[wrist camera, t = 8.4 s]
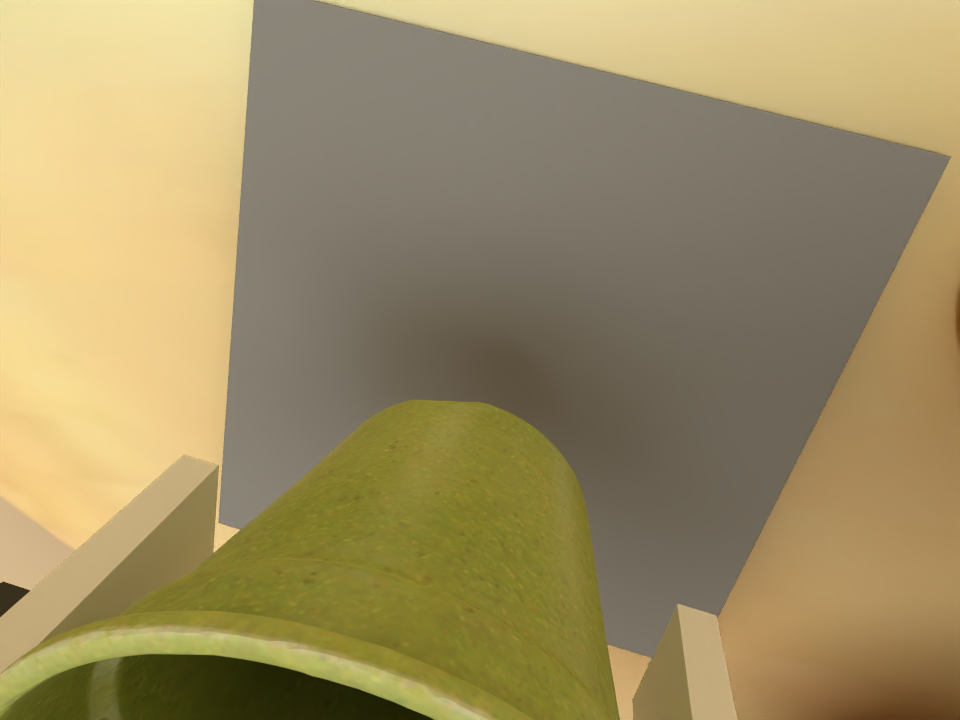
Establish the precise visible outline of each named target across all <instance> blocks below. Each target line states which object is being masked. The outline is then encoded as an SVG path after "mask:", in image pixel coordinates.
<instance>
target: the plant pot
mask: <svg viewBox="0 0 960 720" xmlns="http://www.w3.org/2000/svg"><path fill="white" fill-rule="evenodd" d="M0 720H620V718H619V713H618V707H617V702H616V695H615V688H614V682H613V677H612V671H611V665H610V659H609V654H608V648H607V642H606V635H605V628H604V622H603V615H602V608H601V601H600V594H599V587H598V580H597V573H596V566H595V559H594V552H593V544H592V537H591V531H590V525H589V519H588V513H587V508H586V503H585V499H584V496H583V492H582V489H581V487H580V484H579V482H578V480H577V477H576V475H575V473H574V471H573V470H572V468H571V467H570V465H569V464H568V462H567V461H566V459H565V458H564V457H563V455H562V454H561V453H560V451H559V450H558V449H557V448H556V447H555V446H554V445H553V444H552V443H551V442H550V441H549V440H548V439H547V438H546V437H545V436H544V435H543V434H542V433H541V432H539V431H538V430H537V429H536V428H534V427H533V426H531V425H530V424H528V423H527V422H526V421H524V420H522V419H521V418H519V417H517V416H515V415H513V414H512V413H510V412H508V411H505V410H503V409H500V408H498V407H495V406H493V405H490V404H486V403H482V402H458V401H433V400H417V399H414V400H409V401H405V402H402V403H398V404H395V405H393V406H390V407H388V408H386V409H384V410H383V411H381V412H379V413H377V414H375V415H373V416H372V417H370V418H369V419H367V420H366V421H365V422H364V423H362V424H361V425H360V426H359V427H358V428H357V429H356V430H355V431H354V432H352V433H351V434H350V435H349V436H348V437H347V438H345V439H344V440H343V441H342V442H341V443H340V444H339V445H338V446H337V447H335V448H334V449H333V450H332V451H331V452H330V453H329V454H328V455H327V456H325V457H324V458H323V459H322V460H321V461H320V462H319V463H318V464H317V465H316V466H315V467H313V468H312V469H311V470H310V471H309V472H308V473H307V474H305V475H304V476H303V477H302V478H301V479H300V480H299V481H297V482H296V483H295V484H294V485H293V486H292V487H290V488H289V489H288V490H287V491H286V492H285V493H283V494H282V495H281V496H280V497H279V498H278V499H276V500H275V501H274V502H273V503H272V504H271V505H269V506H268V507H267V508H266V509H265V510H264V511H262V512H261V513H260V514H259V515H258V516H256V517H255V518H254V519H253V520H252V521H251V522H249V523H248V524H247V525H246V526H245V527H244V528H242V529H241V530H240V531H239V532H238V533H236V534H235V535H234V536H233V537H232V538H231V539H229V540H228V541H227V542H226V543H225V544H224V545H222V546H221V547H220V548H219V549H218V550H217V551H216V552H214V553H213V554H212V555H211V556H210V557H209V558H208V559H206V560H205V561H204V562H203V563H202V564H201V565H200V566H198V567H197V568H196V569H195V570H194V571H193V572H191V573H190V574H189V575H186V576H184V577H182V578H179V579H177V580H175V581H172V582H170V583H168V584H165V585H163V586H161V587H159V588H157V589H156V590H154V591H152V592H151V593H149V594H147V595H146V596H144V597H143V598H141V599H140V600H138V601H137V602H136V603H134V604H133V605H131V606H130V607H129V608H127V609H126V610H125V611H123V612H122V613H121V614H120V615H118V616H116V617H111V618H107V619H103V620H98V621H95V622H92V623H89V624H86V625H83V626H80V627H77V628H74V629H71V630H69V631H66V632H64V633H61V634H59V635H57V636H55V637H53V638H51V639H49V640H47V641H45V642H43V643H41V644H39V645H37V646H36V647H34V648H33V649H31V650H30V651H28V652H27V653H25V654H24V655H23V656H21V657H20V658H19V659H17V660H16V661H15V662H13V663H12V664H11V665H9V666H8V667H7V668H6V669H5V670H4V671H3V672H2V673H1V674H0Z"/></svg>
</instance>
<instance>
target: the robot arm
mask: <svg viewBox="0 0 960 720" xmlns="http://www.w3.org/2000/svg"><path fill="white" fill-rule="evenodd" d="M218 469H219V465H216V464H213V463H210V462H206V461H203V460H200V459H197V458H193V457H190V456H187V455H183V456H182V457H181V458H179V459H178V460H177V461H176V462H175V463H174V464H173V465H172V466H170V467H169V468H168V469H167V470H166V471H165V472H164V473H163V474H161V475H160V476H159V477H158V478H157V479H156V480H155V481H153V482H152V483H151V484H150V485H149V486H148V487H147V488H146V489H144V490H143V491H142V492H141V493H140V494H139V495H138V496H137V497H135V498H134V499H133V500H132V501H131V502H130V503H129V504H128V505H126V506H125V507H124V508H123V509H122V510H121V511H120V512H119V513H117V514H116V515H115V516H114V517H113V518H112V519H111V520H110V521H108V522H107V523H106V524H105V525H104V526H103V527H102V528H101V529H99V530H98V531H97V532H96V533H95V534H94V535H93V536H92V537H90V538H89V539H88V540H87V541H86V542H85V543H84V544H82V545H81V546H80V547H79V548H78V549H77V550H76V551H75V552H73V553H72V554H71V555H70V556H69V557H68V558H67V559H66V560H64V561H63V562H62V563H61V564H60V565H59V566H58V567H57V568H56V569H55V570H53V571H52V572H51V573H50V574H49V575H48V576H46V577H45V578H44V579H43V580H42V581H41V582H40V583H39V584H37V585H36V586H35V587H34V588H33V589H32V590H31V591H30V590H27V589H24V588H21V587H18V586H15V585H12V584H8V583H5V582H2V583H0V674H1V673H2V672H3V671H4V670H5V669H6V668H7V667H8V666H9V665H11V664H12V663H13V662H15V661H16V660H17V659H19V658H20V657H21V656H23V655H24V654H25V653H27V652H28V651H30V650H31V649H33V648H34V647H36V646H37V645H39V644H41V643H43V642H45V641H47V640H49V639H51V638H53V637H55V636H57V635H59V634H61V633H64V632H66V631H69V630H71V629H74V628H77V627H80V626H83V625H86V624H89V623H92V622H95V621H98V620H103V619H107V618H111V617H116V616H118V615H120V614H121V613H122V612H123V611H125V610H126V609H127V608H129V607H130V606H131V605H133V604H134V603H136V602H137V601H138V600H140V599H141V598H143V597H144V596H146V595H147V594H149V593H151V592H152V591H154V590H156V589H157V588H159V587H161V586H163V585H165V584H168V583H170V582H172V581H175V580H177V579H179V578H182V577H184V576H186V575H189V574H190V573H191V572H193V571H194V570H195V569H196V568H197V567H198V566H200V565H201V564H202V563H203V562H204V561H205V560H206V559H208V558H209V557H210V556H211V555H212V554H213V547H214V531H215V516H216V500H217V485H218ZM633 720H737V715H736V710H735V705H734V700H733V695H732V690H731V685H730V680H729V675H728V670H727V665H726V660H725V655H724V650H723V645H722V640H721V635H720V630H719V625H718V620H717V615H713V614H710V613H707V612H703V611H700V610H697V609H694V608H690V607H687V606H684V605H680V604H677V606H676V608H675V610H674V612H673V614H672V616H671V618H670V621H669V623H668V625H667V627H666V629H665V631H664V633H663V636H662V638H661V640H660V642H659V644H658V646H657V648H656V650H655V653H654V655H653V657H652V659H651V661H650V663H649V665H648V668H647V670H646V672H645V674H644V676H643V678H642V680H641V683H640V685H639V687H638V689H637V691H636V693H635V695H634V698H633Z"/></svg>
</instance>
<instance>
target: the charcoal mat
mask: <svg viewBox="0 0 960 720" xmlns="http://www.w3.org/2000/svg"><path fill="white" fill-rule="evenodd" d="M950 158H951V157H950V156H946V155H942V154H938V153H934V152H930V151H926V150H921V149H917V148H913V147H909V146H905V145H901V144H897V143H893V142H889V141H885V140H881V139H877V138H873V137H868V136H864V135H860V134H856V133H852V132H848V131H844V130H840V129H836V128H832V127H828V126H824V125H819V124H815V123H811V122H807V121H803V120H799V119H795V118H791V117H787V116H783V115H779V114H775V113H771V112H766V111H762V110H758V109H754V108H750V107H746V106H742V105H738V104H734V103H730V102H726V101H722V100H718V99H713V98H709V97H705V96H701V95H697V94H693V93H689V92H685V91H681V90H677V89H673V88H669V87H665V86H660V85H656V84H652V83H648V82H644V81H640V80H636V79H632V78H628V77H624V76H620V75H616V74H612V73H607V72H603V71H599V70H595V69H591V68H587V67H583V66H579V65H575V64H571V63H567V62H563V61H559V60H554V59H550V58H546V57H542V56H538V55H534V54H530V53H526V52H522V51H518V50H514V49H510V48H505V47H501V46H497V45H493V44H489V43H485V42H481V41H477V40H473V39H469V38H465V37H461V36H457V35H452V34H448V33H444V32H440V31H436V30H432V29H428V28H424V27H420V26H416V25H412V24H408V23H404V22H399V21H395V20H391V19H387V18H383V17H379V16H375V15H371V14H367V13H363V12H359V11H355V10H351V9H346V8H342V7H338V6H334V5H330V4H326V3H322V2H318V1H314V0H254V9H253V23H252V38H251V53H250V67H249V82H248V97H247V111H246V126H245V141H244V155H243V170H242V185H241V199H240V214H239V229H238V244H237V258H236V273H235V288H234V302H233V317H232V332H231V346H230V361H229V376H228V390H227V405H226V420H225V434H224V449H223V464H222V478H221V493H220V508H219V522H218V523H221V524H224V525H227V526H230V527H233V528H237V529H240V530H241V529H242V528H244V527H245V526H246V525H247V524H248V523H249V522H251V521H252V520H253V519H254V518H255V517H256V516H258V515H259V514H260V513H261V512H262V511H264V510H265V509H266V508H267V507H268V506H269V505H271V504H272V503H273V502H274V501H275V500H276V499H278V498H279V497H280V496H281V495H282V494H283V493H285V492H286V491H287V490H288V489H289V488H290V487H292V486H293V485H294V484H295V483H296V482H297V481H299V480H300V479H301V478H302V477H303V476H304V475H305V474H307V473H308V472H309V471H310V470H311V469H312V468H313V467H315V466H316V465H317V464H318V463H319V462H320V461H321V460H322V459H323V458H324V457H325V456H327V455H328V454H329V453H330V452H331V451H332V450H333V449H334V448H335V447H337V446H338V445H339V444H340V443H341V442H342V441H343V440H344V439H345V438H347V437H348V436H349V435H350V434H351V433H352V432H354V431H355V430H356V429H357V428H358V427H359V426H360V425H361V424H362V423H364V422H365V421H366V420H367V419H369V418H370V417H372V416H373V415H375V414H377V413H379V412H381V411H383V410H384V409H386V408H388V407H390V406H393V405H395V404H398V403H402V402H405V401H409V400H414V399H417V400H433V401H458V402H482V403H486V404H490V405H493V406H495V407H498V408H500V409H503V410H505V411H508V412H510V413H512V414H513V415H515V416H517V417H519V418H521V419H522V420H524V421H526V422H527V423H528V424H530V425H531V426H533V427H534V428H536V429H537V430H538V431H539V432H541V433H542V434H543V435H544V436H545V437H546V438H547V439H548V440H549V441H550V442H551V443H552V444H553V445H554V446H555V447H556V448H557V449H558V450H559V451H560V453H561V454H562V455H563V457H564V458H565V459H566V461H567V462H568V464H569V465H570V467H571V468H572V470H573V471H574V473H575V475H576V477H577V480H578V482H579V484H580V487H581V489H582V492H583V496H584V499H585V503H586V508H587V513H588V519H589V525H590V531H591V537H592V544H593V552H594V559H595V566H596V573H597V580H598V587H599V594H600V601H601V608H602V615H603V622H604V628H605V635H606V642H607V644H609V645H612V646H615V647H618V648H622V649H625V650H628V651H631V652H634V653H638V654H641V655H644V656H647V657H651V658H652V657H653V655H654V653H655V650H656V648H657V646H658V644H659V642H660V640H661V638H662V636H663V633H664V631H665V629H666V627H667V625H668V623H669V621H670V618H671V616H672V614H673V612H674V610H675V608H676V606H677V604H680V605H684V606H687V607H690V608H694V609H697V610H700V611H703V612H707V613H710V614H713V615H717V617H718V615H719V613H720V612H721V610H722V608H723V606H724V604H725V602H726V600H727V598H728V596H729V594H730V592H731V590H732V588H733V586H734V584H735V582H736V580H737V578H738V576H739V574H740V572H741V570H742V568H743V566H744V564H745V562H746V560H747V558H748V556H749V554H750V552H751V550H752V548H753V546H754V545H755V543H756V541H757V539H758V537H759V535H760V533H761V531H762V529H763V527H764V525H765V523H766V521H767V519H768V517H769V515H770V513H771V511H772V509H773V507H774V505H775V503H776V501H777V499H778V497H779V495H780V493H781V491H782V489H783V487H784V485H785V483H786V481H787V479H788V477H789V476H790V474H791V472H792V470H793V468H794V466H795V464H796V462H797V460H798V458H799V456H800V454H801V452H802V450H803V448H804V446H805V444H806V442H807V440H808V438H809V436H810V434H811V432H812V430H813V428H814V426H815V424H816V422H817V420H818V418H819V416H820V414H821V412H822V410H823V408H824V407H825V405H826V403H827V401H828V399H829V397H830V395H831V393H832V391H833V389H834V387H835V385H836V383H837V381H838V379H839V377H840V375H841V373H842V371H843V369H844V367H845V365H846V363H847V361H848V359H849V357H850V355H851V353H852V351H853V349H854V347H855V345H856V343H857V341H858V339H859V338H860V336H861V334H862V332H863V330H864V328H865V326H866V324H867V322H868V320H869V318H870V316H871V314H872V312H873V310H874V308H875V306H876V304H877V302H878V300H879V298H880V296H881V294H882V292H883V290H884V288H885V286H886V284H887V282H888V280H889V278H890V276H891V274H892V272H893V270H894V269H895V267H896V265H897V263H898V261H899V259H900V257H901V255H902V253H903V251H904V249H905V247H906V245H907V243H908V241H909V239H910V237H911V235H912V233H913V231H914V229H915V227H916V225H917V223H918V221H919V219H920V217H921V215H922V213H923V211H924V209H925V207H926V205H927V203H928V201H929V200H930V198H931V196H932V194H933V192H934V190H935V188H936V186H937V184H938V182H939V180H940V178H941V176H942V174H943V172H944V170H945V168H946V166H947V164H948V162H949V160H950Z"/></svg>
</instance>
